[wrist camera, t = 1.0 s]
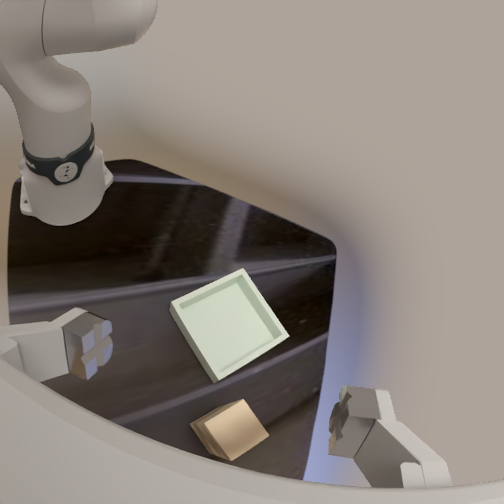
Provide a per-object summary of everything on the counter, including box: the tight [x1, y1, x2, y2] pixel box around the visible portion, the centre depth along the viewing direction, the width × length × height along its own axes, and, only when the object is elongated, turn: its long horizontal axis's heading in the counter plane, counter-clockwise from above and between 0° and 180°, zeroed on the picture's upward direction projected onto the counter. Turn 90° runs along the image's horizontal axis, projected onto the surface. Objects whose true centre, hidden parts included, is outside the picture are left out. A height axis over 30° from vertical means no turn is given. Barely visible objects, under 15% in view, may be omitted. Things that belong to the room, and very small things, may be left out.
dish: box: [169, 268, 289, 383], centre depth 46 cm, size 13×13×4 cm
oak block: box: [190, 399, 269, 461], centre depth 34 cm, size 5×5×12 cm
